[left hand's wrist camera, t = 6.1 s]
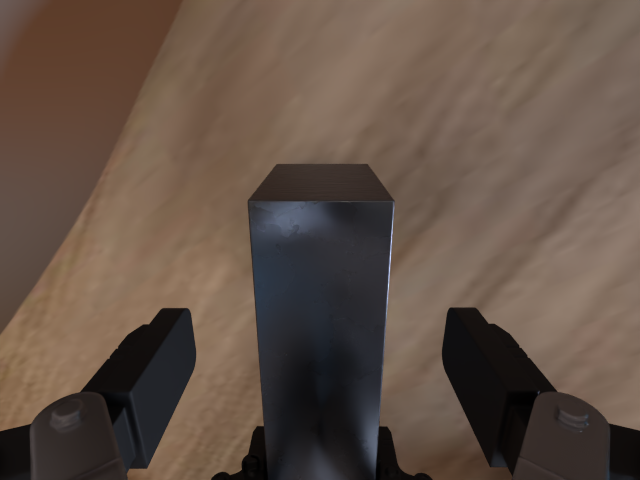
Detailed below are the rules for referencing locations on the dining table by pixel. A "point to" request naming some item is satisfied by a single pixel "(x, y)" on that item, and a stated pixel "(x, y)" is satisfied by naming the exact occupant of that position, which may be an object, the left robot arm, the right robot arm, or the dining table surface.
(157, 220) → the dining table surface
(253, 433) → the right robot arm
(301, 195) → the box
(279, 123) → the dining table surface
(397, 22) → the dining table surface
